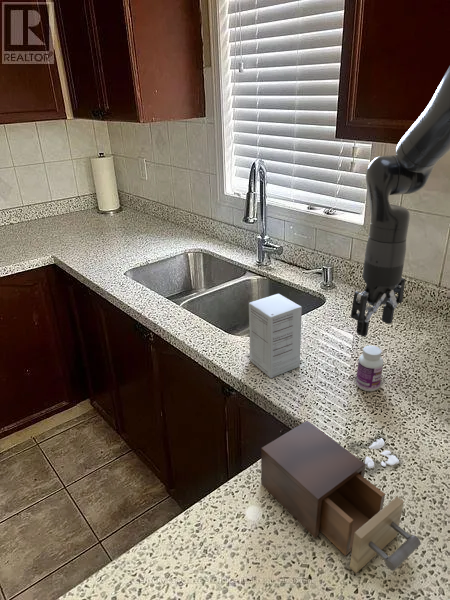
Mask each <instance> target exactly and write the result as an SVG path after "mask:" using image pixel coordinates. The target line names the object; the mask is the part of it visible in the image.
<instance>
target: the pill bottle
mask: <svg viewBox="0 0 450 600" xmlns="http://www.w3.org/2000/svg"><path fill="white" fill-rule="evenodd" d="M382 353H383V352H382V349H381V348H380V347H379V346H376V345H366V346H364V347H363V348H362V354H361V355H360V356H359V357H358V362H357V370H356V371H357V372H356V377H355V384H356V386H357V388H359V389H360V390H363V391H364V392H365V391H366V392H374V391H375V392H376V391H377V390H379V389H380V387H381V383H382V375H383V368H384V359H383V357H382Z"/></svg>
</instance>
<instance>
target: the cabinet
mask: <svg viewBox="0 0 450 600" xmlns="http://www.w3.org/2000/svg"><path fill="white" fill-rule="evenodd" d="M260 451H261V452H260V464H261V465H260V485H261V486H262V487H263V488H264V490H266V491H267V492H268V493H269V494H270V495H271V496H272V497H273V498H274V499H275V500H276V501H277V502H278V503H279V504H280V505H281V506H282V507H283V508H284V509H285V510H286V511H287V512H288V513H289V514H290V515H291V516H292V517H293V518H294V519H295V520H296V521H297V522H298V523H299V524H300V525H301V526H302V527H303V528H304V529H305V530H306V531H307V532H308V533H309V534H310V535H311V536H312V537H313V538H317V537H318V536H319V535H320V531H319V527H320V515H321V504H322V500H323V499H324V498H326V497H327V496H328V495H330V494H331V493H332V492H334V491H335V490H336V489H338V488H339V487H340V486H342V485H343V484H344V483H346V482H347V481H348V480H350V479H351V478H352V477H354V476H355V475H356V474H358V473H359V474H360V475H361V476H363V477H364V478H365V471H366V466H367V464H365V461H362V460H361V459H360V458H358V457H357V456H356V455H354V454H353V453H352V452H350V451H349V450H348V449H346V448H345V447H344V446H343V445H341V444H340V443H338V442H337V441H335V440H334V439H333V438H332V437H330V436H329V435H328V434H326V433H325V432H324V431H322V430H321V429H320V428H319V427H317V426H315V425H314V424H313V423H312V422H310V421H309V420H305V421H304V422H302V423H300V424H298V425H297V426H296V427H294V428H292V429H291V430H289V431H287V432H286V433H284V434H282V435H281V436H279V437H277V438H276V439H274V440H272V441H271V442H269V443H267V444H266V445H263V446H262V447H261V448H260Z"/></svg>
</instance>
